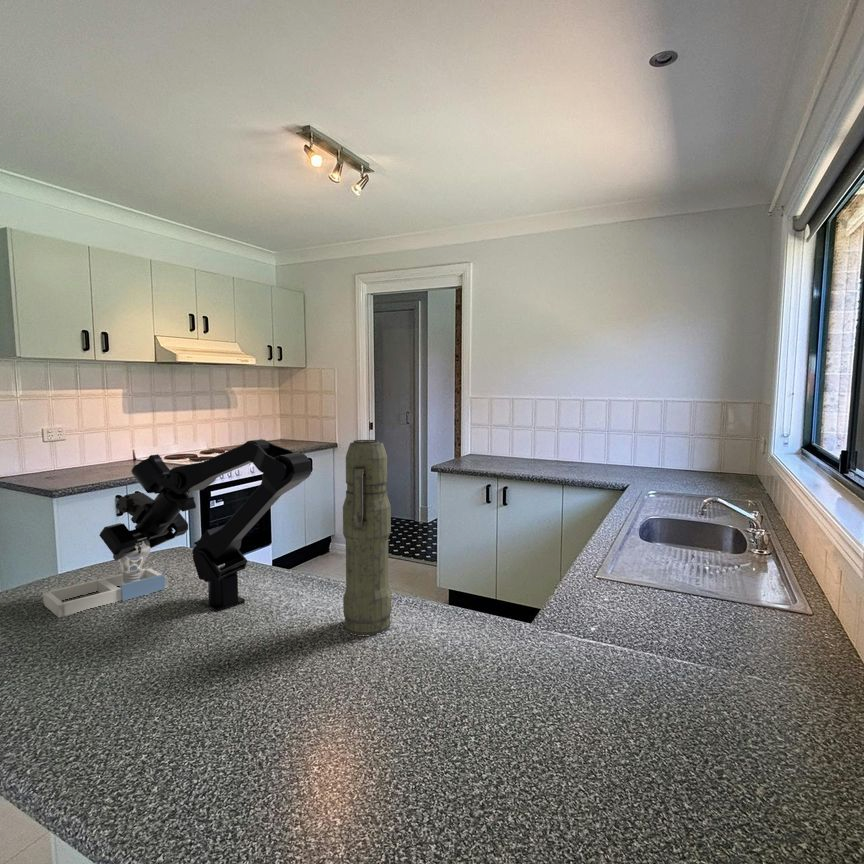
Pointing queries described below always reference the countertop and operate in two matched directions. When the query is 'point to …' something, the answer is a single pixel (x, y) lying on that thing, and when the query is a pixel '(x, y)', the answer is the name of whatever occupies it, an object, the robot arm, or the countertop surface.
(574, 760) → the countertop surface
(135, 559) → the light bulb
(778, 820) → the countertop surface
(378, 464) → the thermos
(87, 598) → the white tray
